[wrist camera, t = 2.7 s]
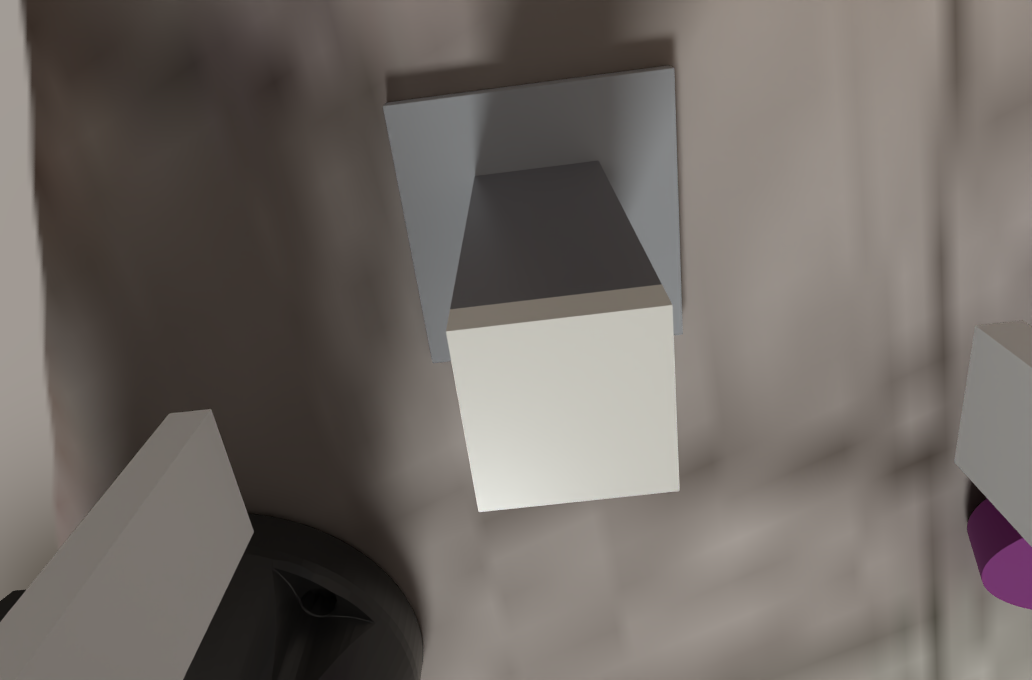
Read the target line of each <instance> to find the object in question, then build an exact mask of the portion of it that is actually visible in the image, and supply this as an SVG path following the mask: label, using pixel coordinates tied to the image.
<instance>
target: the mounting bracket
mask: <svg viewBox="0 0 1032 680" xmlns="http://www.w3.org/2000/svg"><path fill="white" fill-rule="evenodd" d="M967 531H968V535H969V539H970V542H971V545H972V549H973V552H974V555H975V559H976V562H977V565H978V569H979V572H980V575H981V579H982V582H983V584H984V586H985V588H986V589H987V590H988V591H989V592H990V593H991V594H992V595H994V596H995V597H997V598H999V599H1001V600H1003V601H1005V602H1007V603H1010V604H1013V605H1016V606H1019V607H1023V608H1027V609H1032V547H1031V546H1030V545H1029V544H1028V542H1027V541H1026V540H1025V539H1024V538H1023V537H1022V536H1021V535H1020V534H1019V533H1018V531H1017V530H1016V529H1015V528H1014V527H1013V526H1012V525H1011V524H1010V523H1009V522H1008V521H1007V519H1006V518H1005V517H1004V516H1003V515H1002V514H1001V513H1000V512H999V511H998V510H997V508H996V507H995V506H994V505H993V504H992V503H991V502H990V501H989V500H988V499H985V500H984V501H983V502H982V503H980V504H979V506H978V507H977V508H976V509H975V510H974V511H973V513H972V514H971V516H970V518H969V520H968V525H967Z"/></svg>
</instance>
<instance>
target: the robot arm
mask: <svg viewBox="0 0 1032 680" xmlns="http://www.w3.org/2000/svg"><path fill="white" fill-rule="evenodd" d="M954 462H955V464H956V465H957V466H958V467H959V468H960V469H961V470H962V471H963V472H964V473H965V475H966V476H967V477H968V478H969V479H970V480H971V481H972V482H973V483H974V484H975V485H976V487H977V488H978V489H979V490H980V491H981V492H982V493H983V494H984V495H985V496H986V498H987V499H988V500H989V501H990V502H991V503H992V504H993V505H994V506H995V507H996V508H997V510H998V511H999V512H1000V513H1001V514H1002V515H1003V516H1004V517H1005V518H1006V519H1007V521H1008V522H1009V523H1010V524H1011V525H1012V526H1013V527H1014V528H1015V529H1016V530H1017V531H1018V533H1019V534H1020V535H1021V536H1022V537H1023V538H1024V539H1025V540H1026V541H1027V542H1028V544H1029V545H1030V546H1031V547H1032V326H1030V325H1029V324H1027V323H1026V322H1024V321H1023V320H1021V321H1012V322H1003V323H994V324H985V325H976V326H975V331H974V337H973V344H972V350H971V357H970V363H969V370H968V376H967V383H966V389H965V395H964V402H963V408H962V415H961V421H960V428H959V434H958V441H957V447H956V454H955V460H954ZM422 662H423V644H422V637H421V632H420V628H419V625H418V622H417V619H416V617H415V614H414V612H413V610H412V608H411V606H410V604H409V602H408V601H407V599H406V598H405V596H404V594H403V593H402V592H401V590H400V589H399V588H398V586H397V585H396V584H395V583H394V582H393V581H392V579H391V578H390V577H389V576H388V575H387V574H386V573H385V572H384V571H383V570H382V569H381V568H380V567H378V566H377V565H376V564H375V563H374V562H373V561H371V560H370V559H369V558H367V557H366V556H365V555H363V554H362V553H360V552H359V551H357V550H356V549H354V548H353V547H351V546H349V545H348V544H346V543H344V542H342V541H341V540H339V539H337V538H334V537H332V536H330V535H328V534H326V533H324V532H321V531H319V530H316V529H314V528H311V527H308V526H305V525H302V524H299V523H295V522H292V521H288V520H284V519H279V518H275V517H269V516H263V515H254V514H248V513H247V510H246V507H245V505H244V502H243V499H242V496H241V493H240V490H239V487H238V484H237V482H236V479H235V476H234V473H233V470H232V467H231V464H230V462H229V459H228V456H227V453H226V450H225V447H224V444H223V441H222V439H221V436H220V433H219V430H218V427H217V424H216V421H215V418H214V416H213V413H212V410H211V409H206V410H196V411H187V412H178V413H169V414H168V416H167V417H166V418H165V419H164V420H163V422H162V423H161V424H160V425H159V427H158V428H157V429H156V430H155V432H154V433H153V434H152V435H151V436H150V438H149V439H148V440H147V441H146V443H145V444H144V445H143V446H142V448H141V449H140V450H139V451H138V453H137V454H136V455H135V456H134V457H133V459H132V460H131V461H130V462H129V464H128V465H127V466H126V467H125V469H124V470H123V471H122V472H121V474H120V475H119V476H118V477H117V478H116V480H115V481H114V482H113V483H112V485H111V486H110V487H109V488H108V490H107V491H106V492H105V493H104V495H103V496H102V497H101V498H100V499H99V501H98V502H97V503H96V504H95V506H94V507H93V508H92V509H91V511H90V512H89V513H88V514H87V516H86V517H85V518H84V519H83V520H82V522H81V523H80V524H79V525H78V527H77V528H76V529H75V530H74V532H73V533H72V534H71V535H70V537H69V538H68V539H67V540H66V541H65V543H64V544H63V545H62V546H61V548H60V549H59V550H58V551H57V553H56V554H55V555H54V556H53V558H52V559H51V560H50V561H49V563H48V564H47V565H46V566H45V567H44V569H43V570H42V571H41V572H40V574H39V575H38V576H37V577H36V579H35V580H34V581H33V582H32V583H31V585H30V586H29V587H28V588H27V590H17V591H13V592H11V593H10V594H9V595H7V596H6V597H5V598H4V599H2V600H1V601H0V680H420V678H421V670H422Z"/></svg>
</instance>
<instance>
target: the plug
mask: <svg viewBox="0 0 1032 680" xmlns="http://www.w3.org/2000/svg"><path fill="white" fill-rule="evenodd" d="M446 335H447V340H448V346H449V351H450V357H451V363H452V368H453V374H454V379H455V385H456V390H457V396H458V401H459V407H460V412H461V418H462V423H463V429H464V434H465V440H466V445H467V451H468V456H469V462H470V467H471V473H472V478H473V484H474V489H475V495H476V500H477V506H478V511H479V512H484V511H494V510H503V509H513V508H522V507H532V506H541V505H551V504H560V503H570V502H579V501H589V500H598V499H608V498H617V497H627V496H636V495H646V494H655V493H665V492H674V491H679V465H678V438H677V412H676V385H675V359H674V332H673V305H672V303H671V301H670V299H669V297H668V295H667V293H666V291H665V289H664V287H663V286H662V284H661V282H660V280H659V278H658V276H657V274H656V272H655V270H654V268H653V266H652V264H651V262H650V260H649V258H648V256H647V254H646V252H645V250H644V248H643V246H642V244H641V243H640V241H639V239H638V237H637V235H636V233H635V231H634V229H633V227H632V225H631V223H630V221H629V219H628V217H627V215H626V213H625V211H624V209H623V207H622V205H621V203H620V202H619V200H618V198H617V196H616V194H615V192H614V190H613V188H612V186H611V184H610V182H609V180H608V178H607V176H606V174H605V172H604V170H603V168H602V166H601V164H600V162H599V161H590V162H582V163H574V164H566V165H559V166H551V167H543V168H535V169H527V170H519V171H511V172H503V173H495V174H487V175H479V176H475V177H474V182H473V188H472V193H471V199H470V204H469V209H468V215H467V220H466V226H465V231H464V236H463V242H462V247H461V253H460V258H459V263H458V269H457V274H456V280H455V285H454V290H453V296H452V301H451V307H450V312H449V317H448V323H447V328H446Z"/></svg>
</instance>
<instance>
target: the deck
mask: <svg viewBox="0 0 1032 680" xmlns="http://www.w3.org/2000/svg"><path fill="white" fill-rule="evenodd" d="M383 110H384V115H385V120H386V125H387V130H388V135H389V141H390V146H391V151H392V156H393V161H394V166H395V172H396V177H397V182H398V187H399V192H400V197H401V203H402V208H403V213H404V218H405V223H406V228H407V233H408V239H409V244H410V249H411V254H412V259H413V264H414V270H415V275H416V280H417V285H418V290H419V295H420V301H421V306H422V311H423V316H424V321H425V326H426V332H427V337H428V342H429V347H430V352H431V357H432V363H438V362H447V361H451V357H450V351H449V346H448V340H447V335H446V328H447V323H448V317H449V312H450V307H451V301H452V296H453V290H454V285H455V280H456V274H457V269H458V263H459V258H460V253H461V247H462V242H463V236H464V231H465V226H466V220H467V215H468V209H469V204H470V199H471V193H472V188H473V182H474V177H475V176H479V175H487V174H495V173H503V172H511V171H519V170H527V169H535V168H543V167H551V166H559V165H566V164H574V163H582V162H590V161H599V162H600V164H601V166H602V168H603V170H604V172H605V174H606V176H607V178H608V180H609V182H610V184H611V186H612V188H613V190H614V192H615V194H616V196H617V198H618V200H619V202H620V203H621V205H622V207H623V209H624V211H625V213H626V215H627V217H628V219H629V221H630V223H631V225H632V227H633V229H634V231H635V233H636V235H637V237H638V239H639V241H640V243H641V244H642V246H643V248H644V250H645V252H646V254H647V256H648V258H649V260H650V262H651V264H652V266H653V268H654V270H655V272H656V274H657V276H658V278H659V280H660V282H661V284H662V286H663V287H664V289H665V291H666V293H667V295H668V297H669V299H670V301H671V303H672V305H673V332H674V335H681V334H683V329H682V297H681V266H680V235H679V203H678V172H677V140H676V109H675V77H674V68H673V67H671V66H661V67H653V68H646V69H638V70H631V71H623V72H616V73H608V74H600V75H593V76H585V77H578V78H570V79H562V80H555V81H547V82H540V83H532V84H524V85H517V86H509V87H502V88H494V89H486V90H479V91H471V92H464V93H456V94H448V95H441V96H433V97H426V98H418V99H410V100H403V101H395V102H388V103H386V104H385V105H384V106H383Z"/></svg>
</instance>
